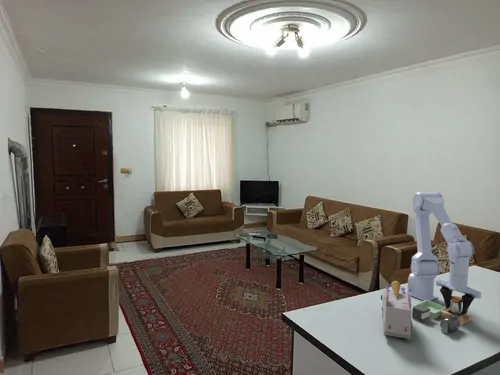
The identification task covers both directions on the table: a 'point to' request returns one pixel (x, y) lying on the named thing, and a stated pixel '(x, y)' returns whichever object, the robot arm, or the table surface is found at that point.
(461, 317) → the socket block
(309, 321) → the table surface
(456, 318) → the trolley wheel
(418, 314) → the block
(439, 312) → the tray
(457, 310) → the pin
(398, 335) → the toy vehicle
